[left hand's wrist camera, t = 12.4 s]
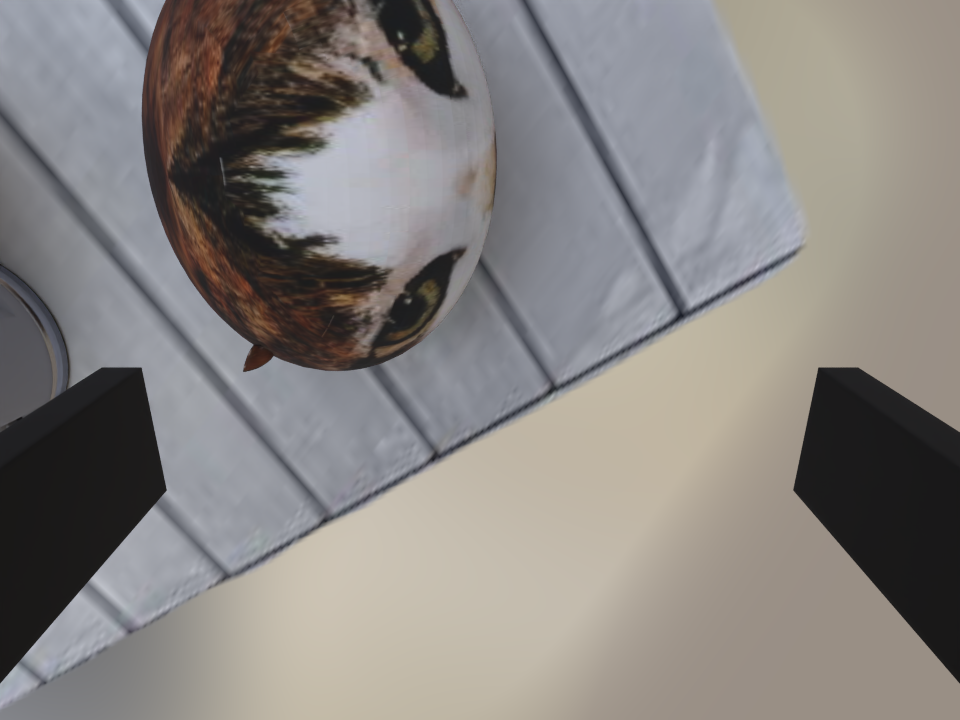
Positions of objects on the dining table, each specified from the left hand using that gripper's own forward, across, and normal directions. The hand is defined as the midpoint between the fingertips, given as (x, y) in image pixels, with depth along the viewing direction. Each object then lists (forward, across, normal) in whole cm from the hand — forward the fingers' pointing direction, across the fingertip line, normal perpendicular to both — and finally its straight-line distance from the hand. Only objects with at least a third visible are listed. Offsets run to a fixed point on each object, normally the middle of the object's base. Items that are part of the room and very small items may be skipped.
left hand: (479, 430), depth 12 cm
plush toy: (+32, +8, -4) cm, 33 cm away
